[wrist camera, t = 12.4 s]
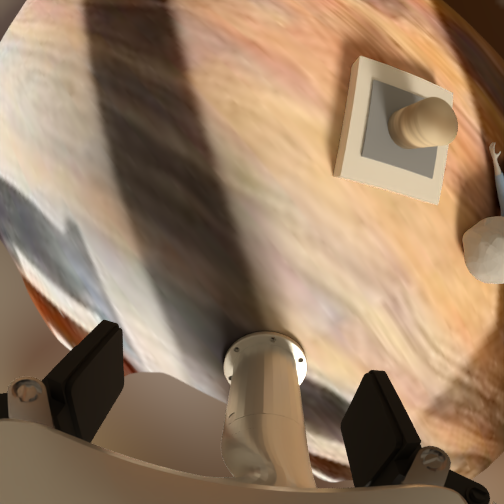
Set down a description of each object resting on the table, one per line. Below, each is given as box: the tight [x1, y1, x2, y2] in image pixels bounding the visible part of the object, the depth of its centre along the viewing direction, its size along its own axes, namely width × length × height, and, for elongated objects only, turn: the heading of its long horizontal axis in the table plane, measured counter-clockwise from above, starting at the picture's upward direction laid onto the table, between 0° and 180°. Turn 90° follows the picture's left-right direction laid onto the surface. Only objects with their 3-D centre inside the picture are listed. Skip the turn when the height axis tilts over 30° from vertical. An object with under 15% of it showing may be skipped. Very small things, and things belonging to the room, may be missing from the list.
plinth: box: [333, 56, 453, 205], centre depth 33 cm, size 16×14×4 cm
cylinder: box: [388, 97, 458, 149], centre depth 27 cm, size 5×5×8 cm
